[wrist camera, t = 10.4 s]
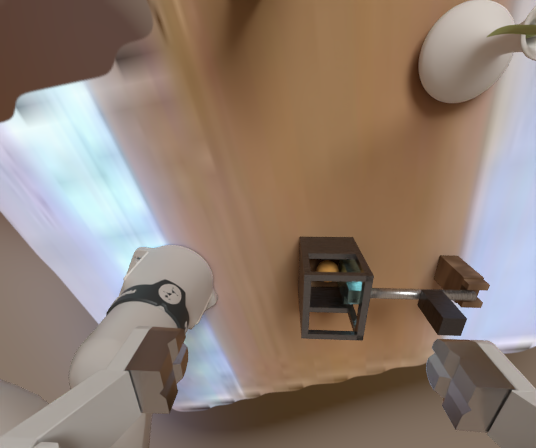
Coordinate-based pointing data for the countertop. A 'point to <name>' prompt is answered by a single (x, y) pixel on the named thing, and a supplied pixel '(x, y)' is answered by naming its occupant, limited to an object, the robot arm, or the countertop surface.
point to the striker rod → (430, 300)
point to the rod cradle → (459, 278)
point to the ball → (327, 267)
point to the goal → (331, 296)
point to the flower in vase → (472, 49)
